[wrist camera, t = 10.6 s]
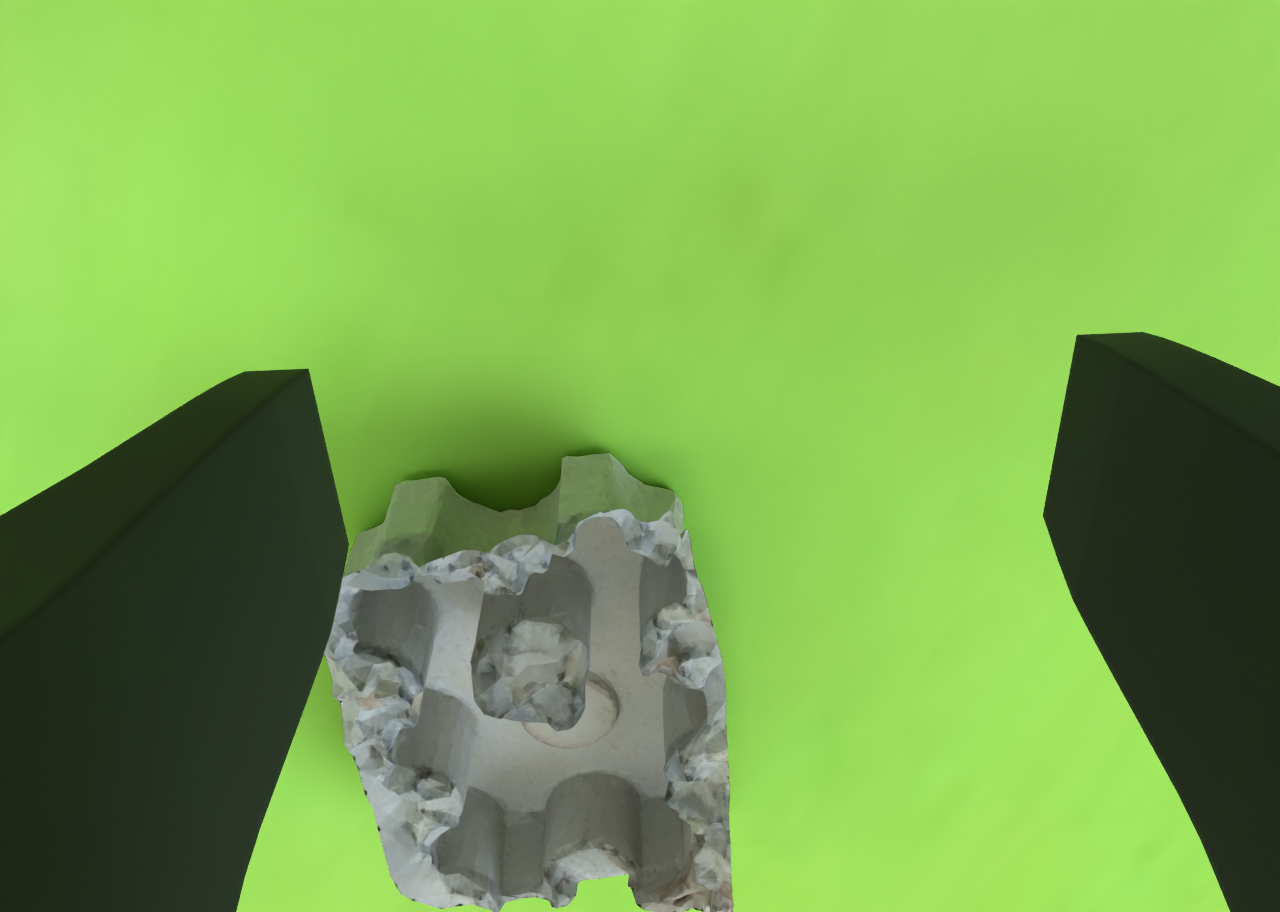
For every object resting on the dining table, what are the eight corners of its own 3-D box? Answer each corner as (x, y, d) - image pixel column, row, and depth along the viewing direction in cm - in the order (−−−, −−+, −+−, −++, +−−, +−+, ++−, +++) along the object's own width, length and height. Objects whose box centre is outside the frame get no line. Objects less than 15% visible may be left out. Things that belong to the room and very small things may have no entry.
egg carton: (730, 796, 27) (746, 947, 24) (430, 819, 27) (403, 972, 24) (703, 430, 21) (719, 560, 18) (325, 464, 22) (268, 598, 18)
